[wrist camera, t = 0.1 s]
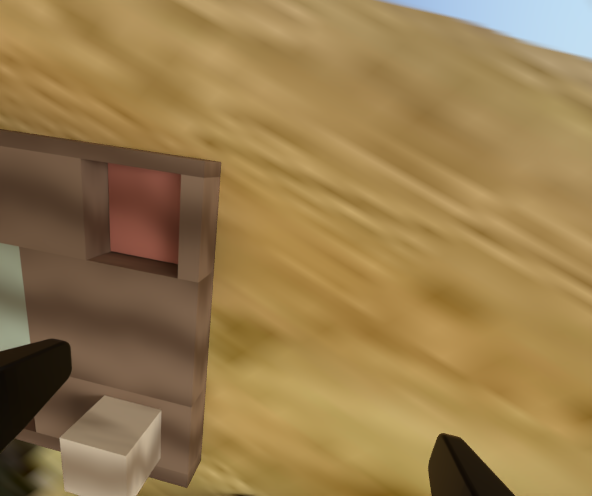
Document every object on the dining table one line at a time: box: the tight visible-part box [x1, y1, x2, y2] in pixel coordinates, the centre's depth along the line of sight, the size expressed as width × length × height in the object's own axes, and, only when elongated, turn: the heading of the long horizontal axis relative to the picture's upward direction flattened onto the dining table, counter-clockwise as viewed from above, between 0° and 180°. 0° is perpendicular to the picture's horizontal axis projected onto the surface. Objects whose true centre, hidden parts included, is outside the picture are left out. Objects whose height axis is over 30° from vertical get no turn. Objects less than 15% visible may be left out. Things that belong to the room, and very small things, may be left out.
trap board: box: [0, 129, 221, 488], centre depth 24 cm, size 27×24×2 cm
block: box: [60, 395, 161, 496], centre depth 23 cm, size 5×5×4 cm
